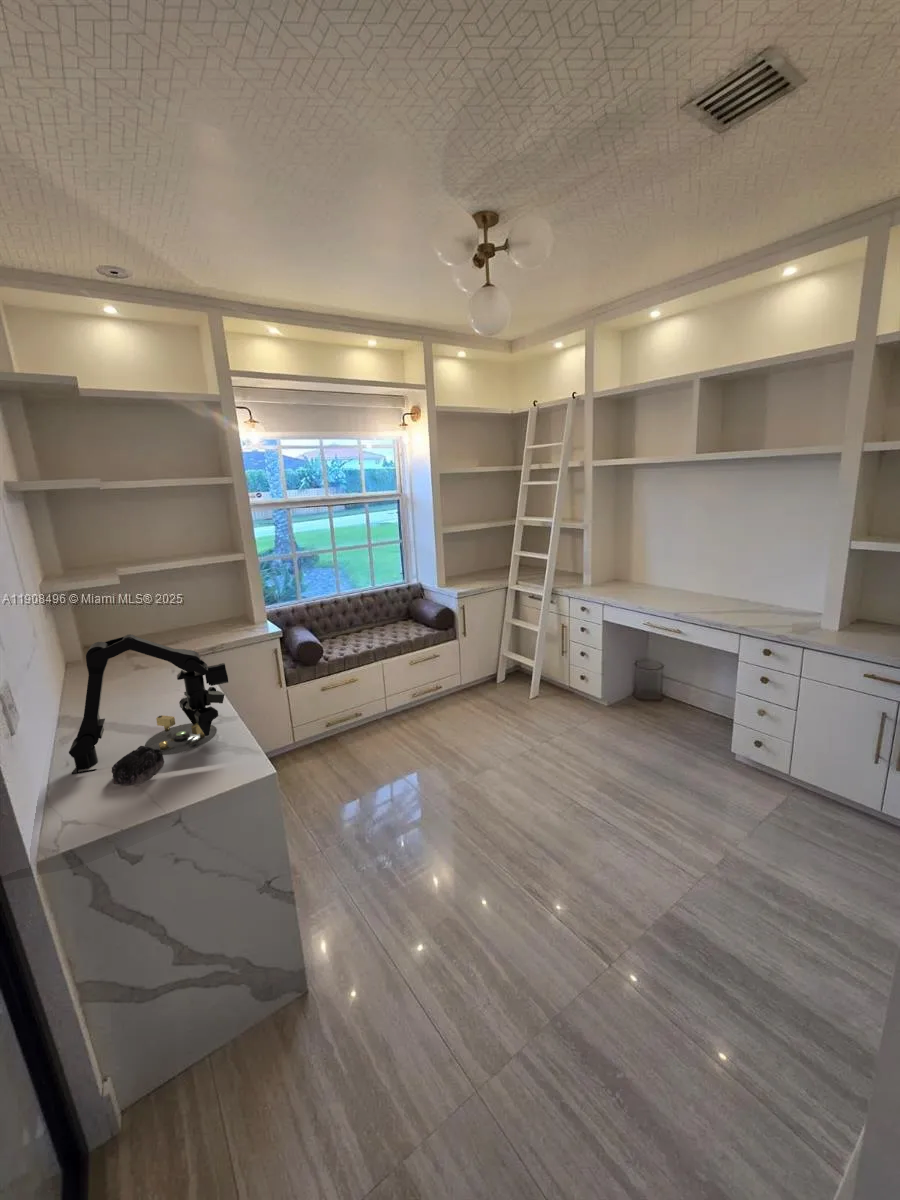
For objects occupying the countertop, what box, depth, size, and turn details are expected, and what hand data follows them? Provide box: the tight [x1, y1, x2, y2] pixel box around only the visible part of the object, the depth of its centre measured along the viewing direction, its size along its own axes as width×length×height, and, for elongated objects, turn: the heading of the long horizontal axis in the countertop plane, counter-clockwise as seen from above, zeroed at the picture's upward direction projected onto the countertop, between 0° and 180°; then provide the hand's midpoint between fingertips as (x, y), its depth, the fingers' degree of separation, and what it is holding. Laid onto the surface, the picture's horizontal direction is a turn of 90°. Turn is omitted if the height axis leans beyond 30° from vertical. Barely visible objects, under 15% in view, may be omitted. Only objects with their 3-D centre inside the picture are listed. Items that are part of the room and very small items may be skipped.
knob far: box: [155, 714, 176, 732], centre depth 176 cm, size 6×2×5 cm, turn 75°
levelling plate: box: [144, 722, 218, 756], centre depth 171 cm, size 22×22×3 cm
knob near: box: [191, 723, 211, 738], centre depth 171 cm, size 6×2×5 cm, turn 156°
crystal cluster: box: [111, 745, 165, 786], centre depth 151 cm, size 13×14×10 cm
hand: (202, 731), depth 171 cm, fingers open, 9 cm apart
